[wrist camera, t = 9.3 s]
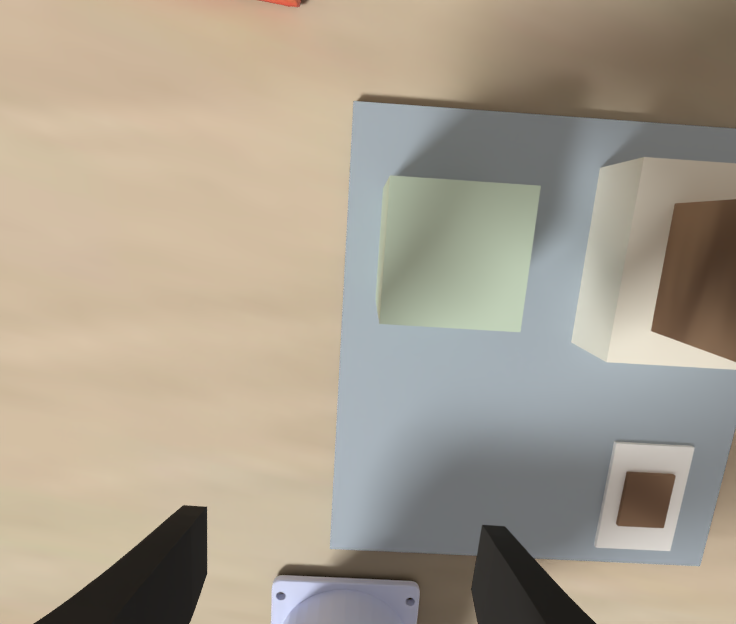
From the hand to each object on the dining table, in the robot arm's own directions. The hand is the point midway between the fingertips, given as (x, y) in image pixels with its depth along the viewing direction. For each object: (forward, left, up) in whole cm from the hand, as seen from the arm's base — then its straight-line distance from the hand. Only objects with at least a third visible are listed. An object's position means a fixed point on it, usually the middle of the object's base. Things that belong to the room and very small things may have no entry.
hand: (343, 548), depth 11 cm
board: (+2, -9, -10) cm, 14 cm away
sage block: (+7, -3, -10) cm, 13 cm away
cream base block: (+7, -14, -10) cm, 19 cm away
